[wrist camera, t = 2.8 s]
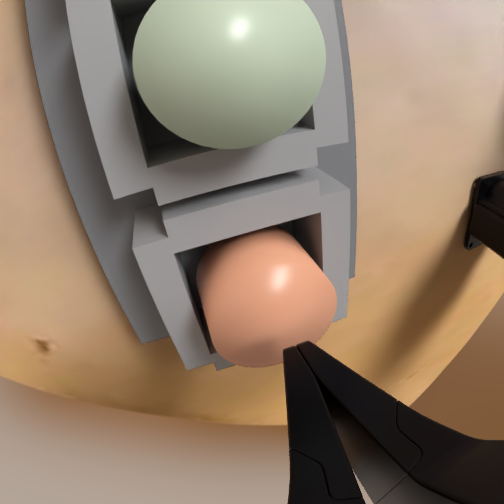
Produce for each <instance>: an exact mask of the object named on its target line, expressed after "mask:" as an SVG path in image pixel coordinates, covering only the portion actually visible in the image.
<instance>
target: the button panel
mask: <svg viewBox="0 0 504 504" xmlns="http://www.w3.org/2000/svg"><path fill="white" fill-rule="evenodd" d="M155 1H156V0H25V8H26V16H27V24H28V31H29V38H30V44H31V50H32V55H33V61H34V66H35V71H36V76H37V80H38V85H39V89H40V93H41V97H42V102H43V105H44V109H45V113H46V117H47V121H48V124H49V128H50V131H51V135H52V138H53V141H54V145H55V148H56V151H57V154H58V157H59V160H60V163H61V166H62V169H63V172H64V175H65V178H66V181H67V184H68V186H69V189H70V192H71V195H72V197H73V200H74V202H75V205H76V208H77V210H78V213H79V215H80V218H81V220H82V223H83V225H84V228H85V230H86V232H87V235H88V237H89V239H90V242H91V244H92V246H93V249H94V251H95V253H96V255H97V257H98V260H99V262H100V264H101V266H102V268H103V270H104V273H105V275H106V277H107V279H108V281H109V283H110V285H111V287H112V289H113V291H114V293H115V295H116V297H117V299H118V301H119V303H120V305H121V307H122V309H123V311H124V312H125V314H126V316H127V318H128V320H129V322H130V324H131V325H132V327H133V329H134V331H135V333H136V334H137V336H138V338H139V340H140V342H141V343H142V344H144V343H148V342H151V341H155V340H159V339H162V338H166V337H171V339H172V341H173V343H174V345H175V347H176V349H177V351H178V353H179V355H180V357H181V359H182V361H183V363H184V365H185V367H186V369H187V370H190V369H194V368H198V367H201V366H205V365H208V364H212V363H214V365H215V367H216V370H221V369H224V368H227V367H231V366H234V365H235V364H233V363H231V362H228V361H227V360H225V359H224V358H223V357H222V356H220V355H219V353H218V352H217V351H216V350H215V347H214V345H213V343H212V339H211V336H210V332H209V329H208V325H207V321H206V318H205V314H204V310H203V306H202V303H201V299H200V295H199V291H198V287H197V282H196V274H197V268H198V264H199V262H200V259H201V257H202V255H203V254H204V252H205V251H206V249H207V248H208V247H209V246H210V244H211V243H212V242H216V241H219V240H223V239H226V238H230V237H233V236H237V235H240V234H244V233H247V232H251V231H255V230H258V229H262V228H265V227H269V226H272V225H276V226H279V227H281V228H283V229H285V230H286V231H288V232H289V233H290V234H291V235H292V236H293V237H294V238H295V239H296V240H297V241H298V243H299V244H300V245H301V246H302V247H303V249H304V250H305V251H306V252H307V253H308V255H309V256H310V257H311V258H312V259H313V261H314V262H315V263H316V264H317V265H318V267H319V268H320V269H321V270H322V272H323V273H324V274H325V275H326V276H327V278H328V279H329V280H330V282H331V283H332V284H333V286H334V288H335V291H336V295H337V308H336V312H335V315H334V318H333V320H332V322H335V321H338V320H340V319H343V318H345V317H347V302H348V284H349V279H350V278H353V277H354V276H355V257H356V226H357V168H356V138H355V119H354V104H353V91H352V79H351V69H350V60H349V51H348V43H347V35H346V28H345V21H344V14H343V8H342V2H341V0H303V1H304V2H305V3H306V4H307V5H308V6H309V8H310V9H311V11H312V12H313V14H314V15H315V17H316V19H317V21H318V23H319V26H320V28H321V31H322V34H323V38H324V43H325V49H326V68H325V74H324V79H323V82H322V85H321V88H320V91H319V93H318V95H317V97H316V99H315V101H314V103H313V104H312V106H311V107H310V109H309V110H308V111H307V113H306V114H305V115H304V116H303V117H302V119H301V120H299V121H298V122H297V123H296V124H295V125H294V126H293V127H292V128H290V129H289V130H288V131H286V132H285V133H283V134H282V135H280V136H278V137H276V138H274V139H272V140H270V141H267V142H265V143H263V144H259V145H256V146H252V147H247V148H240V149H218V148H211V147H206V146H201V145H198V144H195V143H192V142H190V141H188V140H186V139H183V138H181V137H179V136H178V135H176V134H175V133H173V132H172V131H170V130H168V129H167V128H166V127H165V126H164V125H163V124H161V123H160V122H159V121H158V120H157V119H156V118H155V116H154V115H153V114H152V113H151V112H150V110H149V109H148V107H147V106H146V104H145V103H144V101H143V99H142V97H141V95H140V93H139V91H138V88H137V85H136V81H135V78H134V72H133V47H134V41H135V37H136V34H137V31H138V28H139V26H140V24H141V22H142V20H143V18H144V16H145V14H146V13H147V11H148V10H149V9H150V7H151V6H152V5H153V3H154V2H155ZM332 322H331V323H332Z"/></svg>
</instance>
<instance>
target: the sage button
mask: <svg viewBox="0 0 504 504" xmlns="http://www.w3.org/2000/svg"><path fill="white" fill-rule="evenodd" d="M325 68H326V49H325V43H324V38H323V34H322V31H321V28H320V26H319V23H318V21H317V19H316V17H315V15H314V14H313V12H312V11H311V9H310V8H309V6H308V5H307V4H306V3H305V2H304V1H303V0H156V1H155V2H154V3H153V5H152V6H151V7H150V9H149V10H148V11H147V13H146V14H145V16H144V18H143V20H142V22H141V24H140V26H139V28H138V31H137V34H136V37H135V41H134V47H133V72H134V78H135V81H136V85H137V88H138V91H139V93H140V95H141V97H142V99H143V101H144V103H145V104H146V106H147V107H148V109H149V110H150V112H151V113H152V114H153V115H154V116H155V118H156V119H157V120H158V121H159V122H160V123H161V124H163V125H164V126H165V127H166V128H167V129H168V130H170V131H172V132H173V133H175V134H176V135H178V136H179V137H181V138H183V139H186V140H188V141H190V142H192V143H195V144H198V145H201V146H206V147H211V148H218V149H240V148H247V147H252V146H256V145H259V144H263V143H265V142H267V141H270V140H272V139H274V138H276V137H278V136H280V135H282V134H283V133H285V132H286V131H288V130H289V129H290V128H292V127H293V126H294V125H295V124H296V123H297V122H298V121H299V120H301V119H302V117H303V116H304V115H305V114H306V113H307V111H308V110H309V109H310V107H311V106H312V104H313V103H314V101H315V99H316V97H317V95H318V93H319V91H320V88H321V85H322V82H323V79H324V74H325Z"/></svg>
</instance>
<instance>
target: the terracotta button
mask: <svg viewBox="0 0 504 504" xmlns="http://www.w3.org/2000/svg"><path fill="white" fill-rule="evenodd" d="M196 282H197V287H198V291H199V295H200V299H201V303H202V306H203V310H204V314H205V318H206V321H207V325H208V329H209V332H210V336H211V339H212V343H213V345H214V347H215V350H216V351H217V352H218V353H219V355H220V356H222V357H223V358H224V359H225V360H227V361H228V362H231V363H233V364H235V365H239V366H243V367H253V368H256V367H267V366H272V365H277V364H280V363H283V349H285V348H287V347H290V346H296V345H297V344H299V343H301V342H304V341H310V342H312V343H313V344H315V343H316V342H317V341H318V340H319V339H320V338H321V337H322V336H323V335H324V333H325V332H326V331H327V329H328V328H329V326H330V324H331V322H332V320H333V318H334V315H335V312H336V308H337V295H336V291H335V288H334V286H333V284H332V283H331V282H330V280H329V279H328V278H327V276H326V275H325V274H324V273H323V272H322V270H321V269H320V268H319V267H318V265H317V264H316V263H315V262H314V261H313V259H312V258H311V257H310V256H309V255H308V253H307V252H306V251H305V250H304V249H303V247H302V246H301V245H300V244H299V243H298V241H297V240H296V239H295V238H294V237H293V236H292V235H291V234H290V233H289V232H288V231H286V230H285V229H283V228H281V227H279V226H276V225H272V226H269V227H265V228H262V229H258V230H255V231H251V232H247V233H244V234H240V235H237V236H233V237H230V238H226V239H223V240H219V241H216V242H212V243H211V244H210V246H209V247H208V248H207V249H206V251H205V252H204V254H203V255H202V257H201V259H200V262H199V264H198V268H197V274H196Z"/></svg>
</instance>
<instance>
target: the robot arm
mask: <svg viewBox="0 0 504 504" xmlns="http://www.w3.org/2000/svg"><path fill="white" fill-rule="evenodd" d="M481 244H484V245H485V246H487V247H488V248H490V249H491V250H492V251H494V252H495V253H496V254H498V255H499V256H500V257H501V258H503V259H504V171H501V172H497V173H493V174H489V175H485V176H481V177H479V178H478V179H477V181H476V185H475V192H474V198H473V204H472V210H471V215H470V221H469V226H468V231H467V235H466V240H465V244H464V247H465V248H466V249H467V250H471V249H473V248H475V247H477V246H479V245H481ZM283 364H284V378H285V392H286V406H287V422H288V437H289V449H290V450H289V456H290V484H289V496H288V504H365V501H364V499H363V498H362V497H363V496H362V493H361V491H360V488H359V486H358V483H357V480H356V478H355V475H354V473H353V470H354V472H355V474H356V475H357V477H358V479H359V481H360V482H361V484H362V485H363V487H364V489H365V490H366V492H367V494H368V495H369V497H370V498H371V500H372V502H373V503H374V504H504V440H482V439H476V438H473V437H469V436H467V435H464V434H462V433H460V432H458V431H455V430H453V429H451V428H449V427H446V426H444V425H442V424H440V423H438V422H435V421H433V420H431V419H429V418H427V417H425V416H423V415H421V414H420V413H418V412H416V411H414V410H413V409H411V408H409V407H408V406H406V405H405V404H403V403H402V402H400V401H397V399H395V398H394V397H392V396H391V395H389V394H388V393H386V392H385V391H383V390H382V389H380V388H378V387H377V386H375V385H374V384H372V383H371V382H369V381H368V380H366V379H365V378H363V377H362V376H360V375H359V374H357V373H356V372H354V371H353V370H351V369H350V368H348V367H347V366H346V365H344V364H343V363H341V362H340V361H338V360H337V359H335V358H334V357H332V356H331V355H329V354H328V353H326V352H325V351H324V350H322V349H321V348H319V347H318V346H316V345H315V344H313V343H312V342H310V341H304V342H301V343H299V344H297V345H296V346H290V347H287V348H285V349H283ZM352 469H353V470H352Z"/></svg>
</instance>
